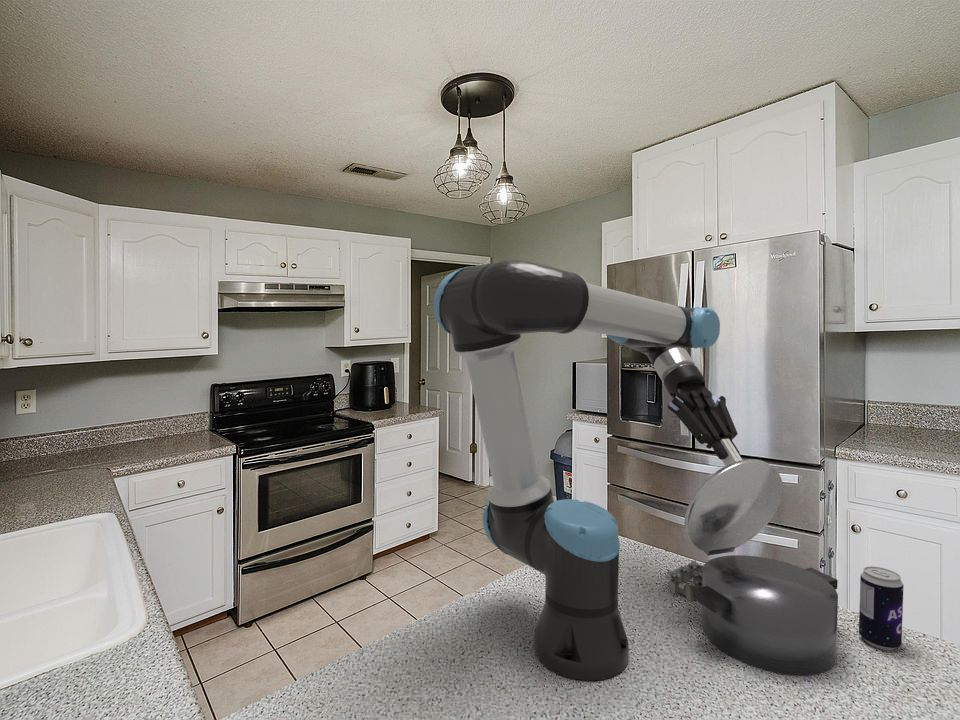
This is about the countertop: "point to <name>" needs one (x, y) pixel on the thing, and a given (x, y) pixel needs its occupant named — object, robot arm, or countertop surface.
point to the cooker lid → (733, 506)
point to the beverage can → (881, 608)
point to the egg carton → (686, 579)
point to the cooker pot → (770, 613)
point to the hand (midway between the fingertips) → (739, 472)
